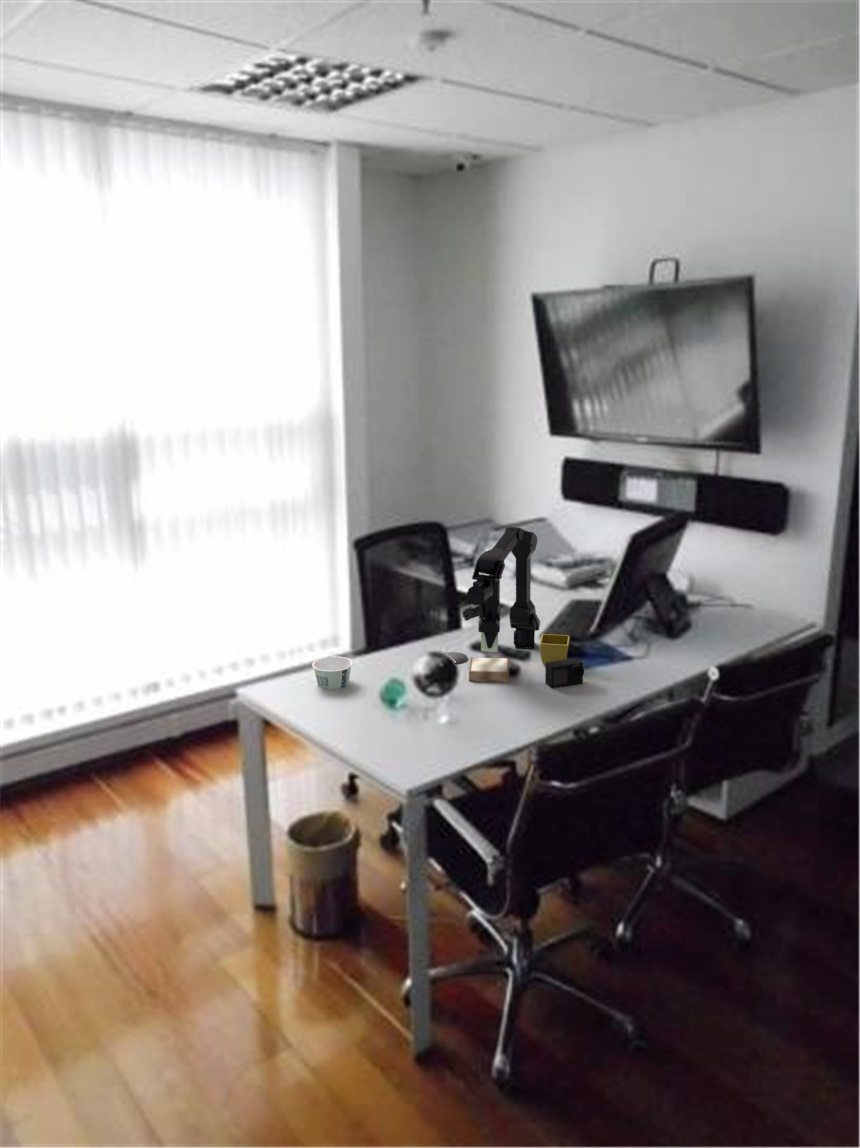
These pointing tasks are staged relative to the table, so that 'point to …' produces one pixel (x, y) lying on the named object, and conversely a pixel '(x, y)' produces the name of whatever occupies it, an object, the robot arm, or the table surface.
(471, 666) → the plinth
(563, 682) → the digital camera
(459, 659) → the coaster
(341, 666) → the food container
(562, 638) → the flower pot
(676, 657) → the table surface
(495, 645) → the block
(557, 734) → the table surface
